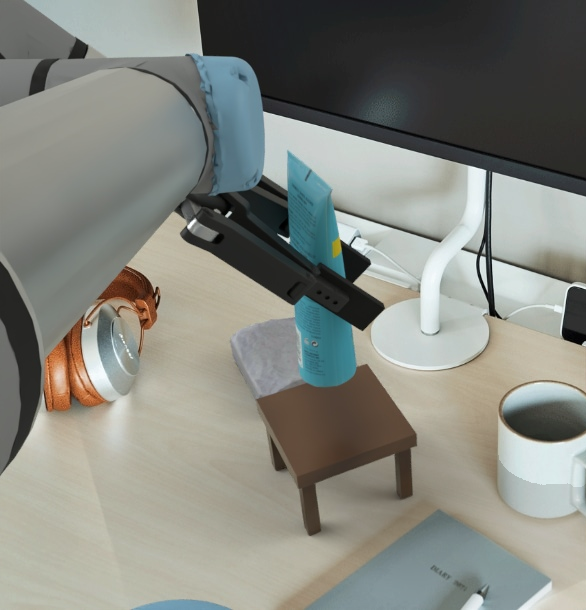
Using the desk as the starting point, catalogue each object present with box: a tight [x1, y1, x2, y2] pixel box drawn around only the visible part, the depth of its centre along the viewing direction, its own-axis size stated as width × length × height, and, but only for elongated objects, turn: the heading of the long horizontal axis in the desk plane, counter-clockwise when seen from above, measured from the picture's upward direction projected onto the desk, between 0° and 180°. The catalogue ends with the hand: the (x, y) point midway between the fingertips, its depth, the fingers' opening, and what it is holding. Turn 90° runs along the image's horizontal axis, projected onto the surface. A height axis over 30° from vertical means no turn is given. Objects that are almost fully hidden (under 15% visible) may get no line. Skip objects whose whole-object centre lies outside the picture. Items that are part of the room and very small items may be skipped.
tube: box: [286, 149, 357, 387], centre depth 74 cm, size 7×5×19 cm, turn 39°
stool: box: [255, 363, 418, 537], centre depth 85 cm, size 11×11×8 cm
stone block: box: [229, 316, 307, 400], centre depth 98 cm, size 12×5×10 cm
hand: (365, 294), depth 76 cm, fingers closed on tube, 6 cm apart
